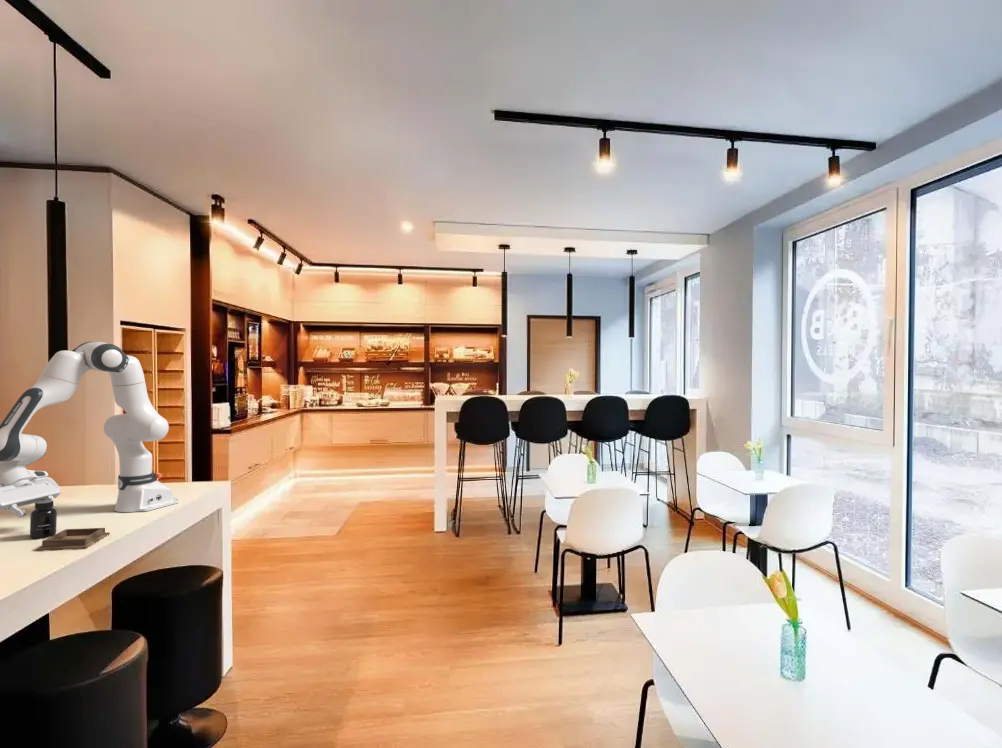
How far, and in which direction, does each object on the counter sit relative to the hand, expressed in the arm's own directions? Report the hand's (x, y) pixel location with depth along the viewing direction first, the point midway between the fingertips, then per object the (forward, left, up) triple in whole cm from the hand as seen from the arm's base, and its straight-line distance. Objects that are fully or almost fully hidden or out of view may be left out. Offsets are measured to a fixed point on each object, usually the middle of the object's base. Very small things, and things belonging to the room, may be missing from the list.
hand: (38, 512), depth 176 cm
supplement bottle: (-1, +2, -8) cm, 9 cm away
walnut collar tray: (-4, +18, -8) cm, 20 cm away
